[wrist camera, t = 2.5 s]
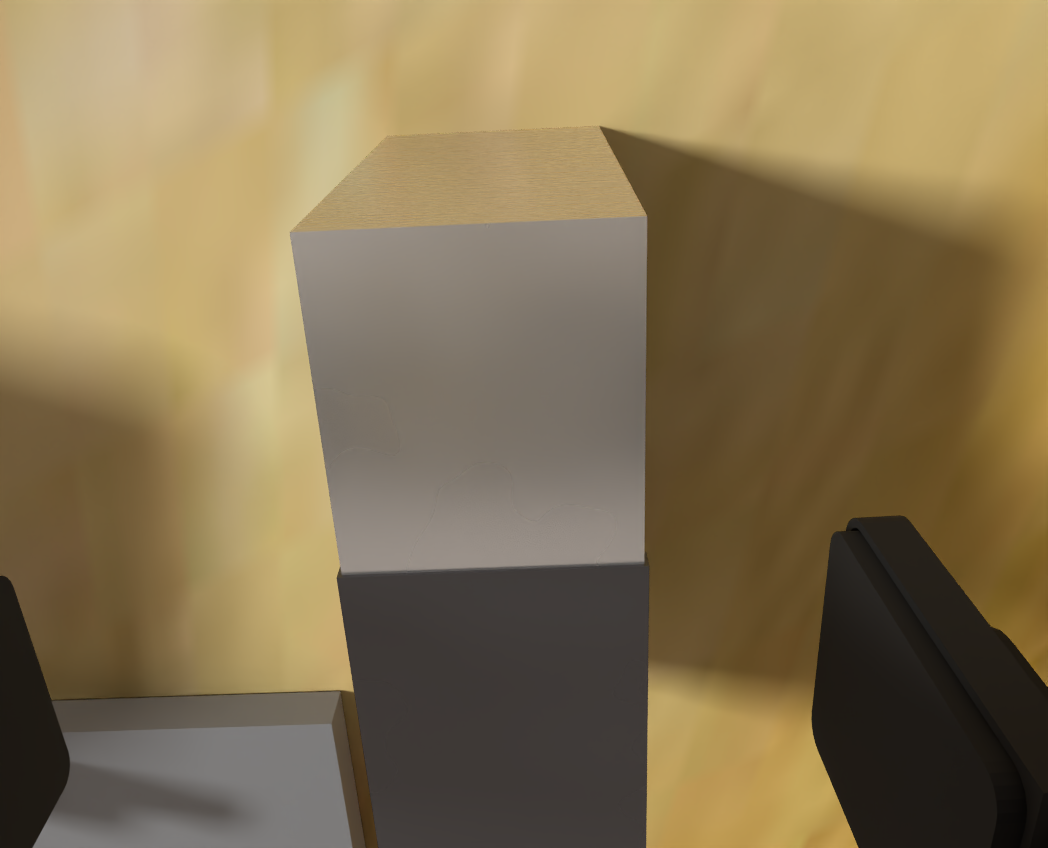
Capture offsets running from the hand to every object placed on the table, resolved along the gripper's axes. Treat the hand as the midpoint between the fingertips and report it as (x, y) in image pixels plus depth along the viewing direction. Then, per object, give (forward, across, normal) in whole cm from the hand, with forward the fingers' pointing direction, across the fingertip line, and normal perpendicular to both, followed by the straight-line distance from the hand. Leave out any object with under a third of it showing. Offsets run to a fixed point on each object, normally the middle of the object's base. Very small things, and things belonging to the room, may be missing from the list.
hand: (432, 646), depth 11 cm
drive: (+7, -1, 0) cm, 7 cm away
